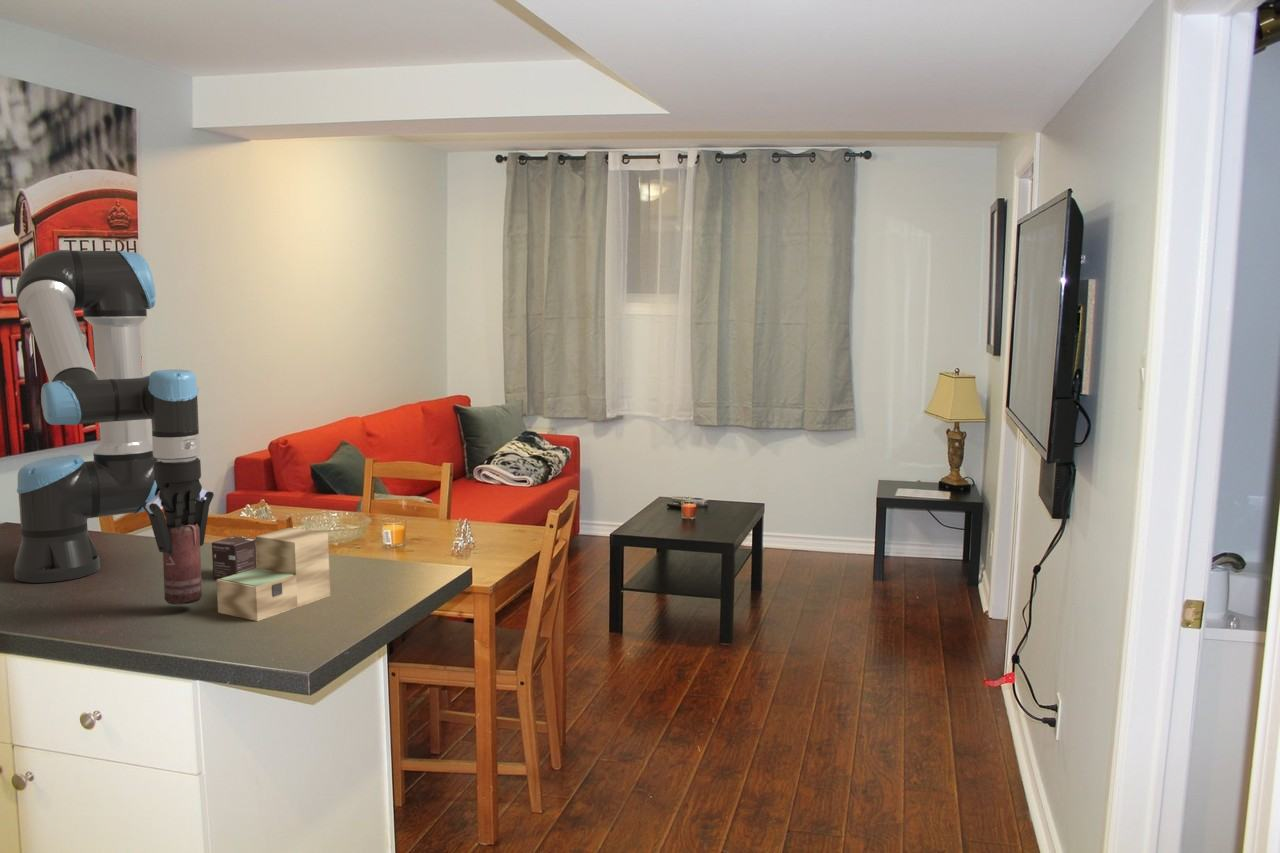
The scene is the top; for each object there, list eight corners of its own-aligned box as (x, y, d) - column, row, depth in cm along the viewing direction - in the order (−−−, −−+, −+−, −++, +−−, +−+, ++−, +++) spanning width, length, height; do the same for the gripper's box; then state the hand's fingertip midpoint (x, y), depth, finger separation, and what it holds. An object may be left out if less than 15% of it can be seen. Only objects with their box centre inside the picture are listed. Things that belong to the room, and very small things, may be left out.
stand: (218, 612, 183) (214, 546, 182) (292, 588, 198) (289, 527, 196) (258, 621, 178) (255, 553, 177) (331, 596, 193) (328, 533, 192)
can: (189, 606, 181) (186, 528, 179) (157, 603, 182) (154, 526, 180) (210, 596, 187) (207, 521, 185) (179, 593, 188) (176, 518, 186)
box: (212, 578, 205) (210, 542, 204) (234, 570, 211) (232, 535, 210) (236, 581, 203) (234, 545, 202) (258, 573, 209) (256, 538, 208)
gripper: (157, 466, 173) (165, 601, 177) (222, 454, 185) (228, 582, 188) (129, 461, 177) (136, 594, 180) (194, 450, 188) (200, 575, 192)
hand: (183, 588), depth 184 cm, fingers closed
